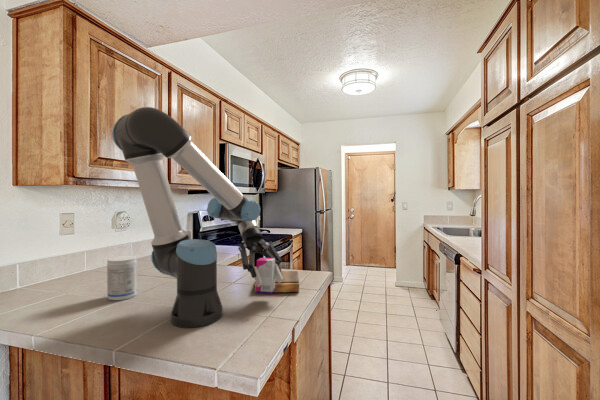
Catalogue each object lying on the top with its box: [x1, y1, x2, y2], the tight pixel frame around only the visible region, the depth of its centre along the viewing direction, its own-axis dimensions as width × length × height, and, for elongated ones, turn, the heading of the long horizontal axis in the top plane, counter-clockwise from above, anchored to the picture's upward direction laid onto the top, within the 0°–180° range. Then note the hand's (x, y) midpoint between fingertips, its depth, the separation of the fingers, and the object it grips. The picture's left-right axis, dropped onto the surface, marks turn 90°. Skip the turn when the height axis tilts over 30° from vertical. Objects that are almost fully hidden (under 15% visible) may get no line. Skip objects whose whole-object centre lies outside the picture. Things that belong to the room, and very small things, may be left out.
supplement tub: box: [106, 255, 138, 301], centre depth 106 cm, size 10×10×15 cm
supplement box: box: [255, 257, 275, 294], centre depth 102 cm, size 6×6×12 cm
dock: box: [254, 270, 300, 294], centre depth 118 cm, size 17×18×4 cm
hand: (270, 282), depth 99 cm, fingers closed on supplement box, 8 cm apart
